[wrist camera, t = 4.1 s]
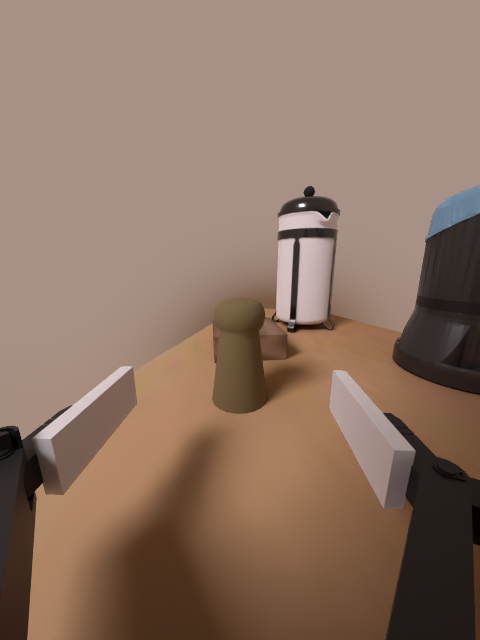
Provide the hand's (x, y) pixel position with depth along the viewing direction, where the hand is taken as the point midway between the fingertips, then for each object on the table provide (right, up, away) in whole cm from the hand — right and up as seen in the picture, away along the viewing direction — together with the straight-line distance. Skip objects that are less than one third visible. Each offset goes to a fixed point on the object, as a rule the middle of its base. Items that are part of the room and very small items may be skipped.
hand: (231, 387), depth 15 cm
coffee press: (+14, +3, +42) cm, 45 cm away
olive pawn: (+1, -4, +11) cm, 12 cm away
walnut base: (+2, -1, +26) cm, 26 cm away
